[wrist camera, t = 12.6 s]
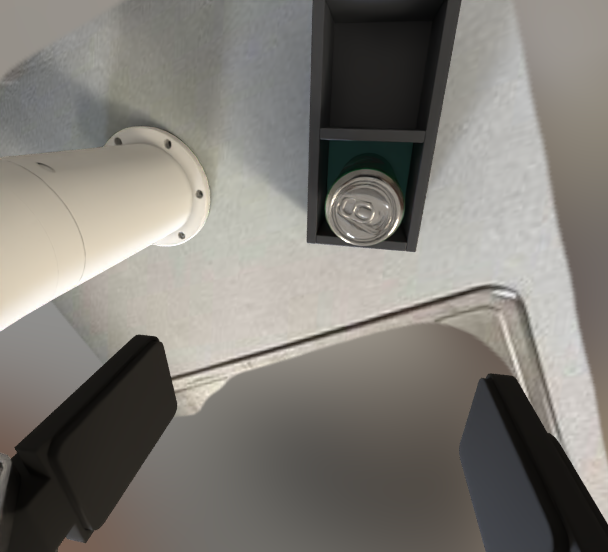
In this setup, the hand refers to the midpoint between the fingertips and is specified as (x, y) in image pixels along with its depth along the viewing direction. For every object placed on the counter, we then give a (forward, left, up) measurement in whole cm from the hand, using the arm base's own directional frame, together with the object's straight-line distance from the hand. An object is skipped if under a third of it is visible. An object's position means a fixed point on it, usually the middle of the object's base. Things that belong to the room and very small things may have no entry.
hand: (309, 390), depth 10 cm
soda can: (+1, +2, -25) cm, 25 cm away
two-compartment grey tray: (+1, +6, -26) cm, 26 cm away
